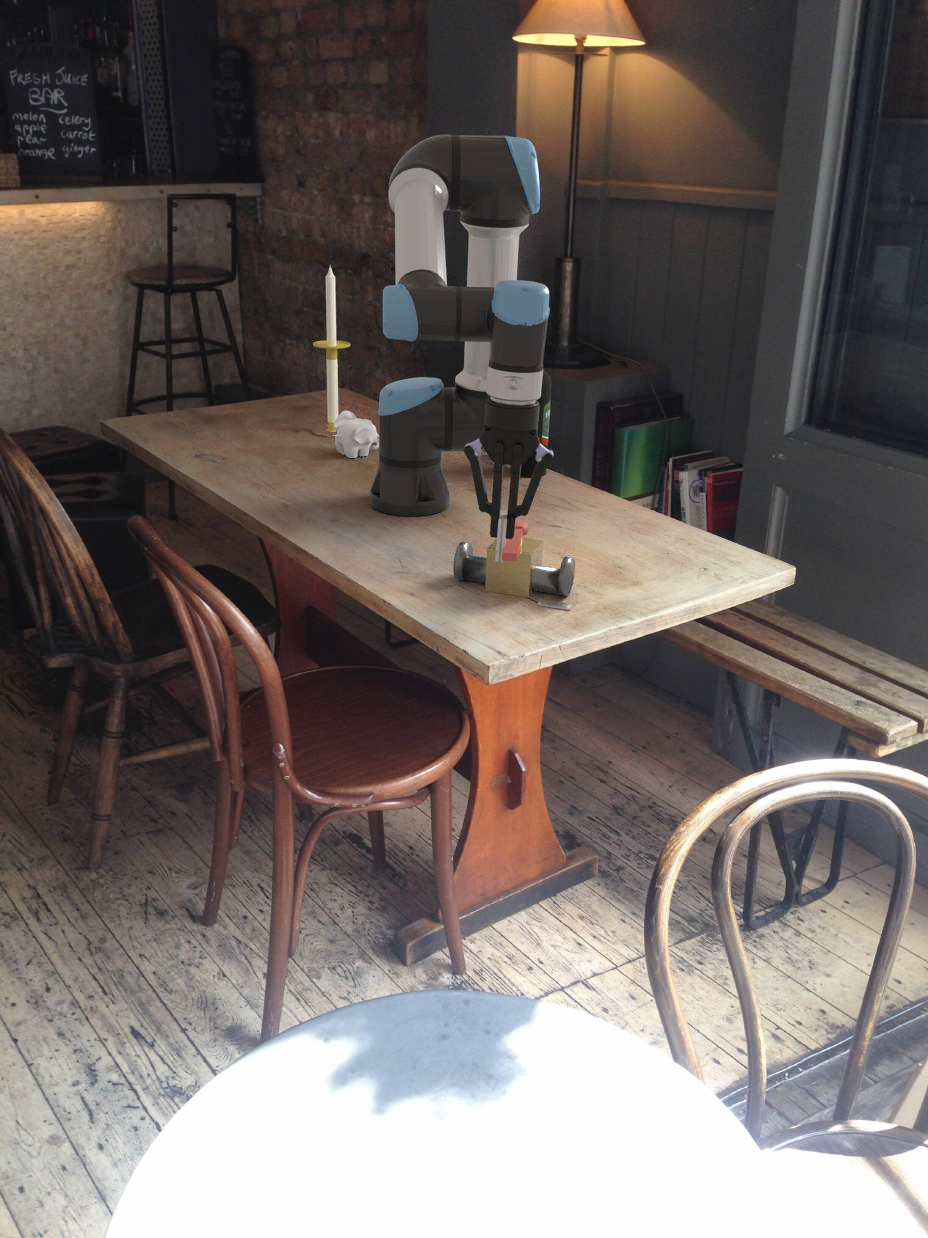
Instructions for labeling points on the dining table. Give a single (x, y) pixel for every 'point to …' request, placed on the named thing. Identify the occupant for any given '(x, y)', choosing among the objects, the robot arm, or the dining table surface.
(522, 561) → the valve
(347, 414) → the elephant figurine
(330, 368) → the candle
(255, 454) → the dining table surface
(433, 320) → the robot arm
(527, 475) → the wine bottle
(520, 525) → the lever
